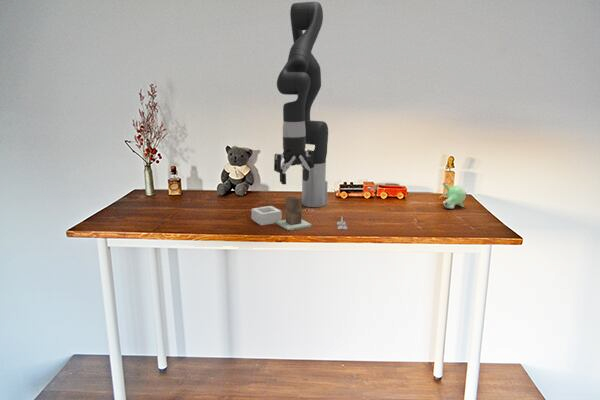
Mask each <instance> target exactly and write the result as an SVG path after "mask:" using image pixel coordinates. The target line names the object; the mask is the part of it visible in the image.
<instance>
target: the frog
mask: <svg viewBox="0 0 600 400" xmlns="http://www.w3.org/2000/svg"><path fill="white" fill-rule="evenodd" d="M441 184H442V186H443V187H444V188H445V189H446V191H447V192H446V193H444V194H443V193H442V194H441V195H440V196H438V197H439V199H441V198H444V197H447V199H445V200H443V201H442V202H443V203H442V204H443V205H444V207H445V208H446V209H448V210H452V209H454V208H455V206H456V205H457V204H458V205H459V206H460V207H461V208H464V207H465V206H464V203H462V202H463V201H465V199H466V196H467V192H466V190H465V189H464V188H463V187H462V186H461V185H453V186H451V187H450V186H449V184H448V183H447V182H446V181H443V182H442V183H441Z"/></svg>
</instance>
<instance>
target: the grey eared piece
mask: <svg viewBox="0 0 600 400" xmlns="http://www.w3.org/2000/svg"><path fill="white" fill-rule="evenodd" d="M336 226H337V229H338V230H348V226H347V223H346V221H344V219H343V216H341V219H340V221H337V222H336Z"/></svg>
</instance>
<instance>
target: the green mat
mask: <svg viewBox="0 0 600 400" xmlns="http://www.w3.org/2000/svg"><path fill="white" fill-rule="evenodd" d="M275 224H277V225H278V226H280V227H281V228H282V229H284V230H286V229H287V231H288V230H290V231H294V230H295V229H296V230H300V229H304V228H311V227H312V224H311V223H310V222H307V221H305V220H304V219H302V218H301V224H296V225H290V224H288V223H286V219H282V220H281V221H276V223H275ZM296 230H295V231H296Z"/></svg>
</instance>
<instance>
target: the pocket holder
mask: <svg viewBox="0 0 600 400" xmlns="http://www.w3.org/2000/svg"><path fill="white" fill-rule="evenodd" d="M250 211H251V220H252V221H253V222H255V223H257V224H258V225H259V226H266V225H272V224H276V221H281V220H283V219H282V218H283V216H282V215H283V213H282V210H281V209H278V208H276V207H275V206H273V205H268V206H267V205H266V206H260V207H254V208H251V210H250Z"/></svg>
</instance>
